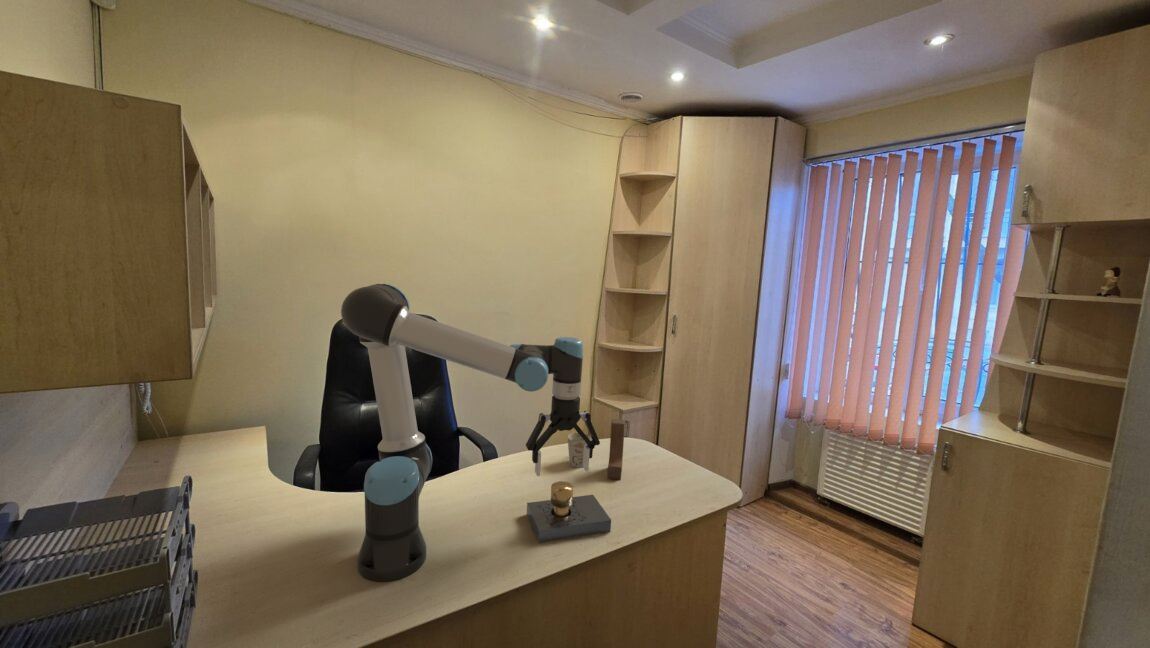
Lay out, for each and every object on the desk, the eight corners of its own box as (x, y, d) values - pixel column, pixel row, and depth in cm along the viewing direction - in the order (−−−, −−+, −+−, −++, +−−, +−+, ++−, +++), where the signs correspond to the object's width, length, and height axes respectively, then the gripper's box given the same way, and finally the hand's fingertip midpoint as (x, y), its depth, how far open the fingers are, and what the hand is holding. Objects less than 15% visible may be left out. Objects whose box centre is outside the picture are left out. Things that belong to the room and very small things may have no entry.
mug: (564, 467, 164) (565, 440, 163) (570, 453, 177) (571, 427, 175) (587, 470, 163) (589, 442, 162) (592, 455, 175) (593, 430, 174)
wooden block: (620, 480, 157) (623, 428, 154) (607, 478, 157) (610, 427, 155) (622, 468, 165) (625, 419, 163) (609, 467, 166) (612, 418, 164)
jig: (538, 543, 120) (538, 530, 120) (526, 514, 133) (527, 502, 133) (610, 531, 127) (611, 519, 126) (592, 505, 140) (592, 494, 139)
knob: (553, 531, 125) (554, 493, 124) (547, 519, 131) (548, 482, 130) (574, 528, 127) (576, 490, 126) (567, 516, 133) (569, 480, 131)
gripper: (522, 402, 117) (519, 482, 120) (614, 398, 125) (609, 473, 128) (517, 393, 124) (513, 469, 127) (604, 390, 132) (599, 461, 135)
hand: (561, 471), depth 127 cm, fingers open, 13 cm apart
